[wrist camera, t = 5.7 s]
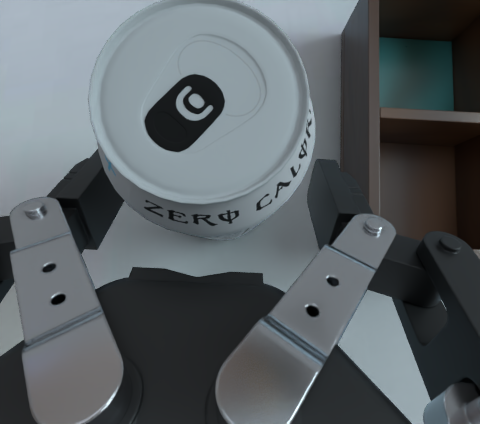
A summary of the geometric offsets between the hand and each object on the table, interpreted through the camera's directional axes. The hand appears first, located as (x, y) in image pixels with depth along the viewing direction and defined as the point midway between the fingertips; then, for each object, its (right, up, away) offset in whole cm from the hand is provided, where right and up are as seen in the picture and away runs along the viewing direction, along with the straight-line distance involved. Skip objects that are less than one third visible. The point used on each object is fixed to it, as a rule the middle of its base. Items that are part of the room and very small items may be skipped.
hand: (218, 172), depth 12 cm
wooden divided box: (+13, +4, +10) cm, 17 cm away
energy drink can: (0, -1, +9) cm, 9 cm away
